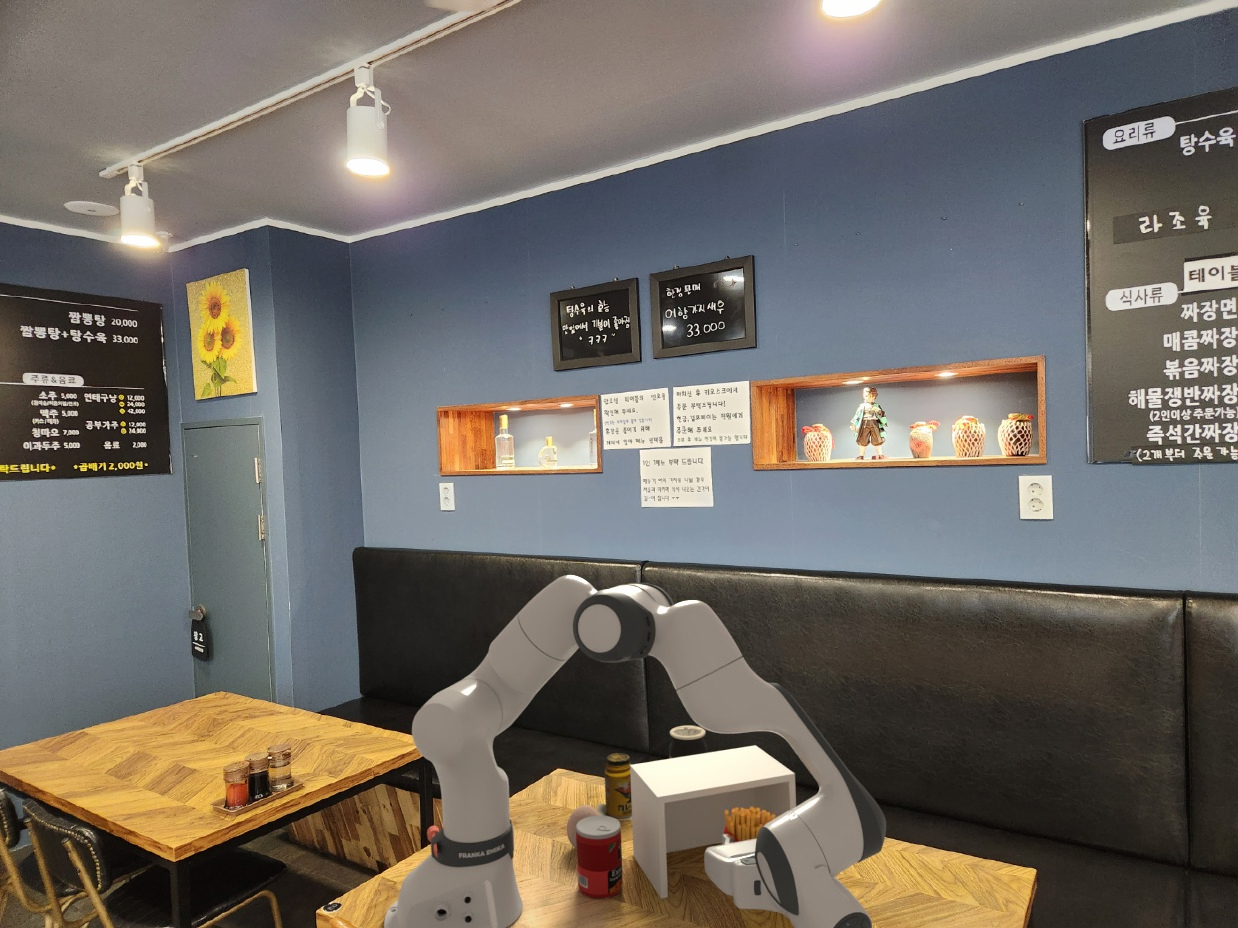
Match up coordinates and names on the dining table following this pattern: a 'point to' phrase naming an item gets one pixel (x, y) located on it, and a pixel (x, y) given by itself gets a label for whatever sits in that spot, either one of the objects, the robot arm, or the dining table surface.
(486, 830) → the robot arm
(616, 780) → the condiment
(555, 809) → the dining table surface
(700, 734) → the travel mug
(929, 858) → the dining table surface
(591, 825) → the canned food
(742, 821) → the french fries
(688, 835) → the white step stool
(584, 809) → the egg
